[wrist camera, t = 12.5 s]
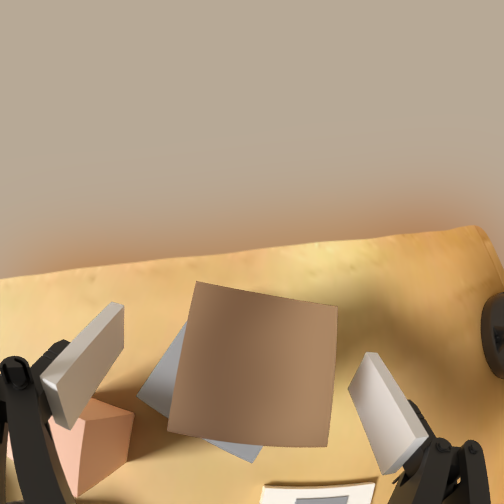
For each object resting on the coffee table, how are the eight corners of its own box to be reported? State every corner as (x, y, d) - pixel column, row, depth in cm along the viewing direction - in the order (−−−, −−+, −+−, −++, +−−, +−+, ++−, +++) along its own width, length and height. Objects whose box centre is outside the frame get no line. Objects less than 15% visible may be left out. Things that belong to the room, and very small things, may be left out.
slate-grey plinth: (290, 365, 27) (311, 356, 21) (242, 449, 22) (252, 463, 16) (204, 315, 28) (204, 294, 23) (150, 396, 23) (135, 396, 18)
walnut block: (269, 353, 21) (337, 306, 11) (260, 421, 18) (326, 447, 8) (199, 341, 21) (196, 281, 10) (186, 410, 18) (166, 431, 7)
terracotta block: (134, 412, 21) (85, 420, 11) (126, 462, 19) (77, 497, 8) (84, 394, 21) (15, 383, 11) (76, 442, 18) (7, 456, 8)
